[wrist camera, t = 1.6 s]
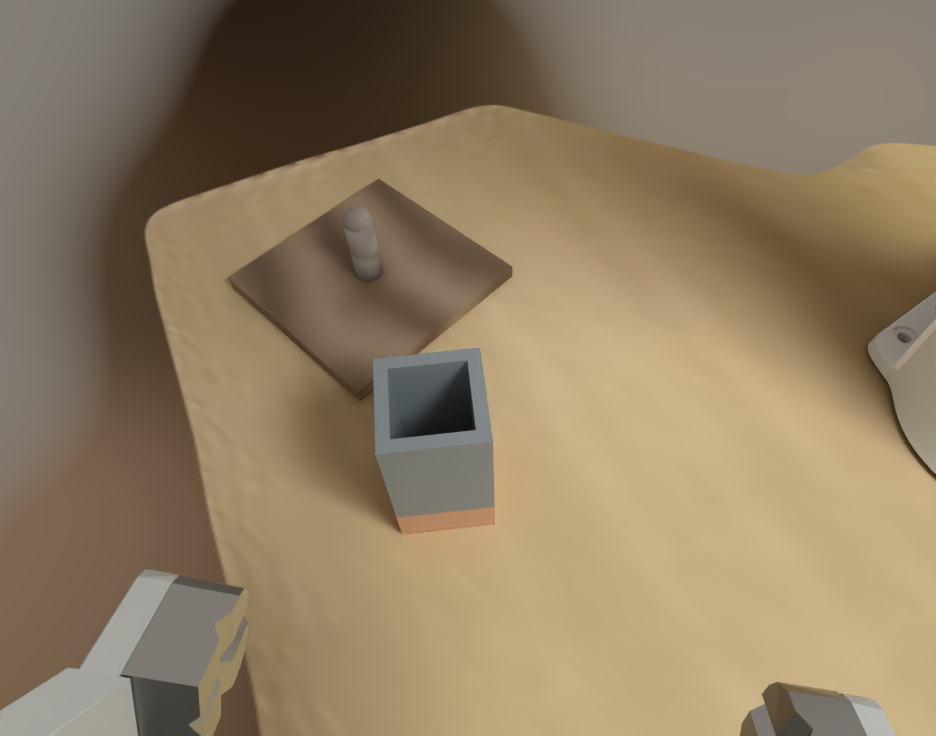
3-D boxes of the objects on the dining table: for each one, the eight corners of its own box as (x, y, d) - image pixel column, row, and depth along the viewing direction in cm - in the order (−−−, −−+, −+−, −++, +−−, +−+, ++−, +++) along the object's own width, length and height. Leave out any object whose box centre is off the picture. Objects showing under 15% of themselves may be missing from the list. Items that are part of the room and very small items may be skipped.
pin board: (380, 188, 56) (366, 115, 50) (512, 276, 49) (513, 203, 43) (232, 286, 50) (197, 216, 44) (360, 400, 43) (338, 335, 38)
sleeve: (483, 442, 41) (479, 347, 33) (494, 523, 38) (492, 441, 30) (398, 451, 41) (373, 359, 33) (402, 534, 38) (375, 454, 30)
